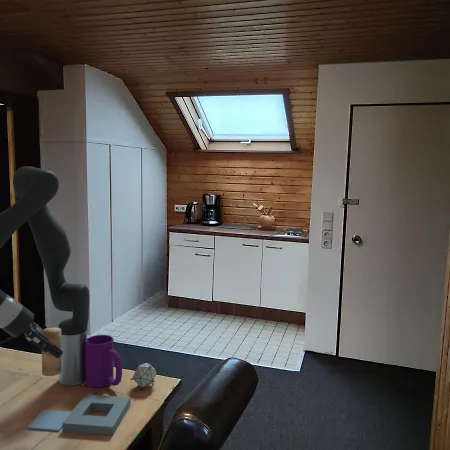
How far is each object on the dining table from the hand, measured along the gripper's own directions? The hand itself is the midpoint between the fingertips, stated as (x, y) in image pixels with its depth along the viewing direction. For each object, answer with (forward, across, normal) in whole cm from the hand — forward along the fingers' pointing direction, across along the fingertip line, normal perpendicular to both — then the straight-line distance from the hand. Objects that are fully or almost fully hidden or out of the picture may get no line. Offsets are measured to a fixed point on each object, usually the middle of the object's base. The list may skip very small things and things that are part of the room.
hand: (58, 351), depth 124 cm
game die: (+34, +8, -6) cm, 36 cm away
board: (+21, -4, +7) cm, 23 cm away
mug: (+27, +15, +2) cm, 31 cm away
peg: (+3, 0, +5) cm, 6 cm away
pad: (+13, 0, +16) cm, 20 cm away
